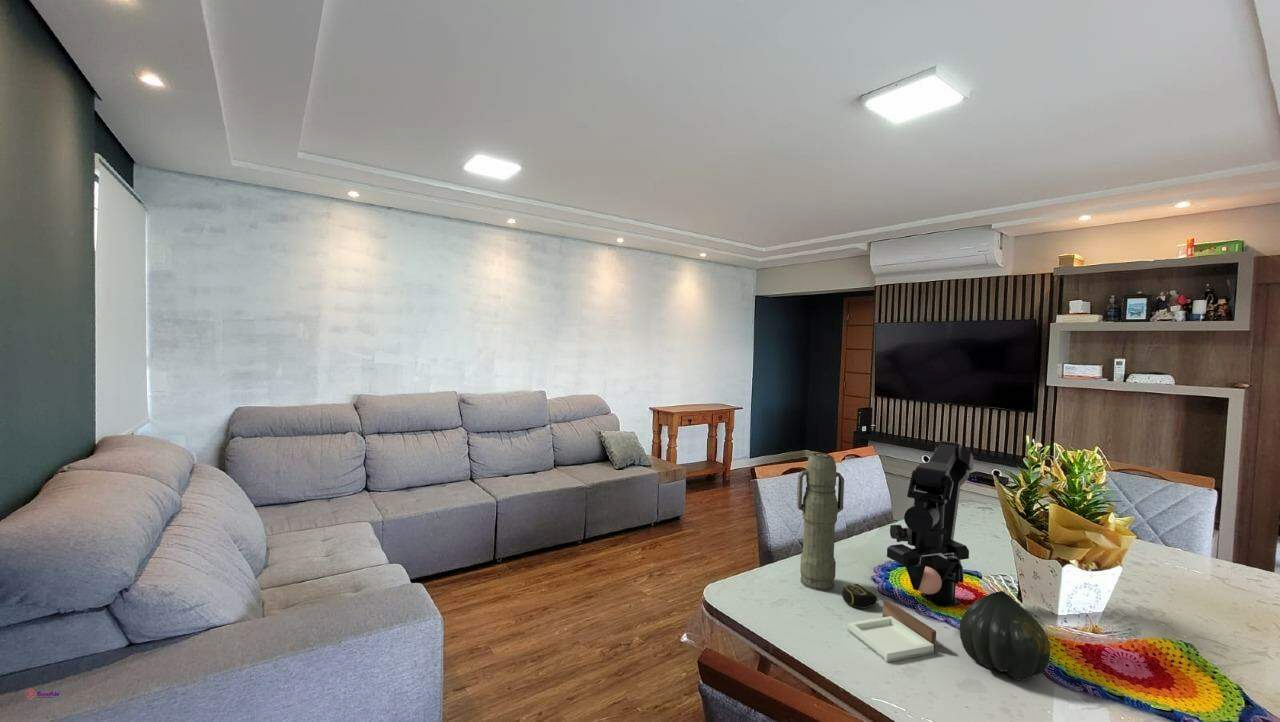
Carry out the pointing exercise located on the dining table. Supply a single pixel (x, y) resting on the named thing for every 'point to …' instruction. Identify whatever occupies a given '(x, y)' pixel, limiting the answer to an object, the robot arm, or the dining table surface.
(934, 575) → the ball
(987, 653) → the squash
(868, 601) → the tape measure
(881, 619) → the dish
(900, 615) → the divider rail
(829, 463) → the thermos
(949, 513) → the robot arm
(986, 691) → the dining table surface
